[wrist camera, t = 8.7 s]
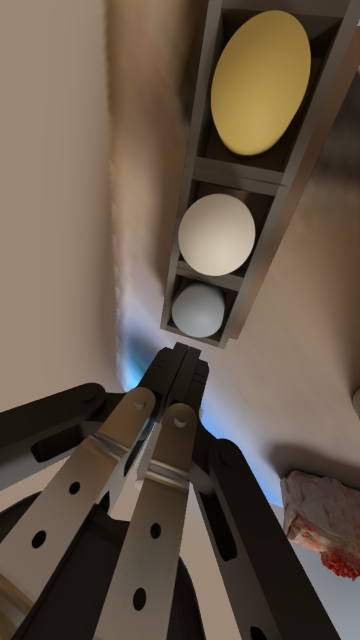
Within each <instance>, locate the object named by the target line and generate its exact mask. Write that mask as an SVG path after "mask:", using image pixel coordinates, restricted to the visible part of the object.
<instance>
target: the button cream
mask: <svg viewBox="0 0 360 640" xmlns="http://www.w3.org/2000/svg"><path fill="white" fill-rule="evenodd" d="M178 240H179V247H180V250H181V253H182V255H183V257H184V259H185V261H186V262H187V263H188V264H189V265H190V266H191V267H192V268H193V269H194V270H196V271H198V272H200V273H202V274H205V275H210V276H220V275H224V274H227V273H230V272H232V271H234V270H235V269H237V268H238V267H239V266H241V265H242V264H243V263H244V261H245V260H246V259H247V257H248V256H249V254H250V252H251V250H252V248H253V244H254V240H255V226H254V221H253V218H252V216H251V213H250V211H249V210H248V208H247V207H246V205H245V204H244V203H243V202H241V201H240V200H239V199H237V198H234V197H232V196H229V195H225V194H212V195H208V196H205V197H203V198H201V199H199V200H198V201H196V202H195V203H194V204H193V205H192V206H191V207H190V208H189V209H188V210H187V211H186V213H185V215H184V216H183V219H182V221H181V224H180V227H179V234H178Z"/></svg>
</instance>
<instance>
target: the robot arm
mask: <svg viewBox="0 0 360 640" xmlns="http://www.w3.org/2000/svg"><path fill="white" fill-rule="evenodd" d="M188 348H189V349H188ZM200 353H201V350H199V349H196V348H194V347H191V346H190V347H189V346H188V345H185V344H182V343H180V342H177V343H176V344H175V346H174V348H173V349H170V348H167V347H165V348H163V349H162V350H160V351H159V352H158V353H157V355H156V357H155V359H154V360H153V361H152V363H151V365H150V366H149V368H148V369H147V371H146V373H145V374H144V376H143V377H142V379H141V381H140V382H139V384H138V385H137V386H136V387H135V388H133V389H131V390H130V391H129V392H126V393H107V392H105V389H104V388H103V386H101V385H100V384H97V383H86V384H83V385H80V386H77V387H74V388H71V389H68V390H65V391H62V392H59V393H56V394H53V395H51V396H48V397H45V398H42V399H39V400H36V401H33V402H30V403H27V404H25V405H21V406H19V407H15V408H13V409H10V410H7V411H4V412H1V413H0V491H1V490H3V489H5V488H7V487H9V486H11V485H13V484H15V483H17V482H19V481H21V480H23V479H25V478H27V477H29V476H31V475H33V474H35V473H37V472H39V471H41V470H42V469H45V468H46V467H48V466H50V465H52V464H54V463H56V462H58V461H60V460H62V459H64V458H66V457H68V456H70V455H71V456H70V457H69V459H68V460H67V461H66V462H65V464H64V465H63V466H62V467H61V469H60V470H59V471H58V472H57V474H56V475H55V476H54V477H53V479H52V480H51V481H50V482H49V484H48V485H47V486H46V487H45V489H44V490H43V491H40V492H37V493H35V494H33V495H30V496H28V497H26V498H24V499H22V500H20V501H19V502H17V503H15V504H14V505H12V506H10V507H8V508H7V509H5V510H3V511H2V512H0V640H206V637H205V632H204V628H203V624H202V619H201V614H200V610H199V605H198V601H197V597H196V593H195V589H194V586H193V583H192V580H191V577H190V575H189V573H188V570H187V568H186V566H185V564H184V562H183V560H182V559H181V557H180V556H179V553H180V546H181V540H182V533H183V526H184V520H185V513H186V507H187V501H188V494H189V481H190V482H191V483H192V484H193V488H194V491H195V495H196V498H197V501H198V504H199V507H200V510H201V513H202V517H203V520H204V523H205V526H206V529H207V532H208V535H209V538H210V541H211V544H212V548H213V551H214V554H215V557H216V560H217V563H218V566H219V569H220V573H221V576H222V579H223V582H224V585H225V588H226V591H227V595H228V598H229V601H230V604H231V607H232V610H233V613H234V616H235V620H236V623H237V626H238V629H239V632H240V635H241V638H242V640H341V639H340V637H339V635H338V633H337V631H336V629H335V627H334V625H333V624H332V622H331V620H330V618H329V616H328V614H327V613H326V610H325V609H324V607H323V605H322V603H321V601H320V600H319V597H318V595H317V593H316V592H315V590H314V588H313V586H312V584H311V582H310V580H309V578H308V576H307V575H306V573H305V571H304V569H303V567H302V565H301V563H300V561H299V560H298V558H297V556H296V554H295V552H294V550H293V548H292V546H291V544H290V542H289V541H288V539H287V537H286V535H285V533H284V531H283V529H282V527H281V525H280V524H279V522H278V520H277V518H276V516H275V514H274V512H273V510H272V509H271V507H270V505H269V503H268V501H267V499H266V497H265V495H264V493H263V491H262V490H261V488H260V486H259V484H258V482H257V480H256V478H255V476H254V474H253V473H252V471H251V469H250V467H249V465H248V463H247V461H246V459H245V457H244V456H243V454H242V452H241V450H240V449H239V447H238V446H237V445H236V444H235V443H233V442H232V441H230V440H228V439H224V438H221V439H217V438H215V437H214V436H213V435H212V434H211V433H210V432H208V431H207V430H206V429H205V427H204V426H203V425H202V423H201V421H200V417H199V409H200V405H201V401H202V397H203V393H204V389H205V385H206V381H207V377H208V373H209V367H208V363H207V362H205V361H203V360H200V359H199V356H200ZM352 403H353V408H354V410H355V412H356V414H357V416H358V417H359V419H360V388H359V389H358V390H357V391H356V393H355V394H354V396H353V401H352ZM162 417H163V418H162ZM161 419H162V421H161ZM160 421H161V425H162V427H161V430H160V433H159V436H158V439H157V442H156V445H155V448H154V452H153V455H152V458H151V461H150V464H149V466H148V469H147V472H146V475H145V478H144V481H143V484H142V487H141V491H140V494H139V497H138V500H137V503H136V506H135V509H134V513H133V516H132V519H131V521H122V520H115V519H112V518H111V517H110V516H109V515H110V513H111V511H112V509H113V507H114V505H115V503H116V501H117V499H118V497H119V495H120V493H121V491H122V488H123V486H124V483H125V481H126V479H127V477H128V475H129V473H130V471H131V469H132V467H133V465H134V463H135V461H136V459H137V458H138V456H139V454H140V452H141V450H142V448H143V446H144V444H145V442H146V441H147V439H148V436H149V434H150V432H151V430H152V428H153V426H154V423H155V422H157V423H159V424H160Z"/></svg>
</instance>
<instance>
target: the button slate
mask: <svg viewBox="0 0 360 640" xmlns="http://www.w3.org/2000/svg"><path fill="white" fill-rule="evenodd" d="M225 304H226V297H225V293H224V291H223V289H222V288H221V287H220V286H217V285H214V284H210V283H207V282H203V281H199V280H193V281H191V282H190V283H189V284H188V285H187V286H186V287H185V288H184V290H183V291H182V292H181V294H180V295H179V297H178V298H177V300H176V301H175V303H174V305H173V307H172V317H173V320H174V322H175V324H176V326H177V327H178V328H179V329H180V330H181V331H182V332H184V333H185V334H187V335H190V336H193V337H207V336H210V335H212V334H214V333H215V332H216V331H217V330H218V329H219V328H220V326H221V324H222V320H223V314H224V309H225Z"/></svg>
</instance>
